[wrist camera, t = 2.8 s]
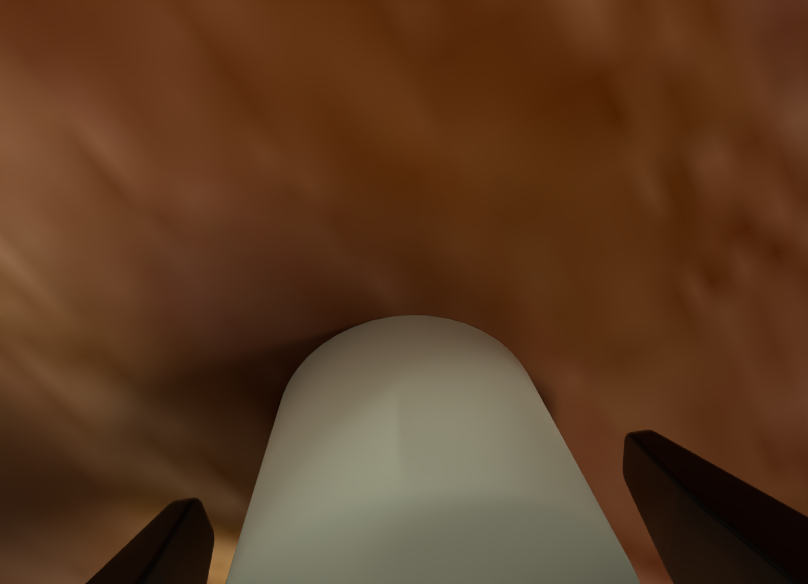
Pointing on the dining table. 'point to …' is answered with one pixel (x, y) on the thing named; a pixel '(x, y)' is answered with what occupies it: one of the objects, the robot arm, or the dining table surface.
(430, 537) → the pale green rounded cylinder
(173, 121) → the dining table surface
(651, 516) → the robot arm
